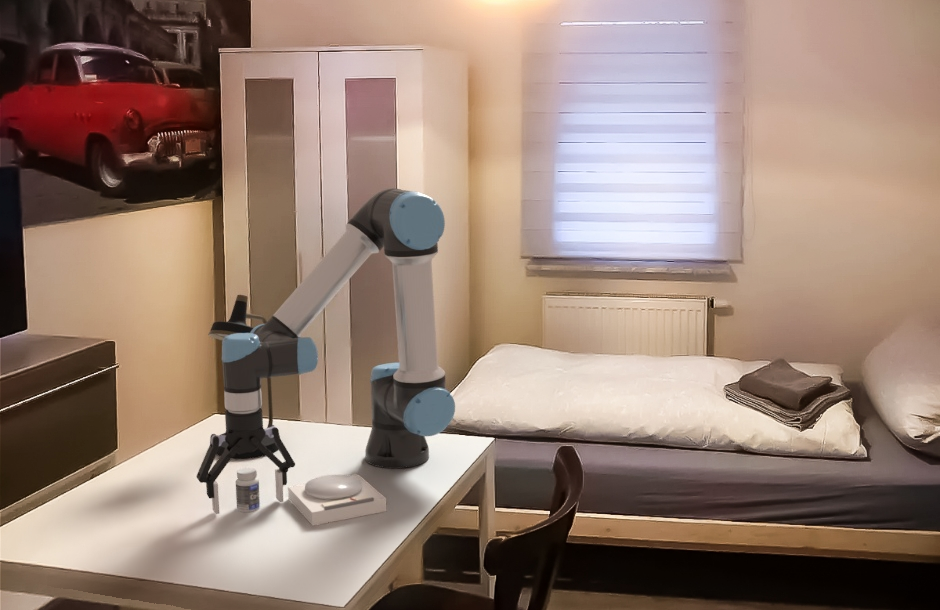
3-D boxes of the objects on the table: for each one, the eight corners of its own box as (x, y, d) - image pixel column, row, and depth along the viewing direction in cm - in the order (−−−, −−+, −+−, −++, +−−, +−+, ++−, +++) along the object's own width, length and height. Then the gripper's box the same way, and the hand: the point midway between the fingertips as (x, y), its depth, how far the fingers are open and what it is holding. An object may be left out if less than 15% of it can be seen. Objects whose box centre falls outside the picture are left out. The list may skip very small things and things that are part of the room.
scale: (358, 486, 231) (357, 469, 230) (386, 511, 217) (385, 492, 216) (288, 499, 224) (287, 481, 223) (312, 525, 210) (312, 506, 209)
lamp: (198, 456, 250) (188, 299, 243) (244, 429, 271) (237, 283, 263) (257, 463, 245) (250, 303, 238) (300, 435, 266) (294, 287, 258)
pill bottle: (254, 513, 216) (252, 475, 214) (233, 511, 217) (231, 473, 215) (263, 504, 220) (261, 467, 219) (242, 503, 221) (240, 465, 220)
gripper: (296, 396, 223) (299, 489, 227) (178, 412, 212) (184, 510, 216) (307, 404, 217) (311, 501, 221) (186, 422, 206) (192, 523, 210)
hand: (248, 505), depth 219 cm, fingers open, 13 cm apart
